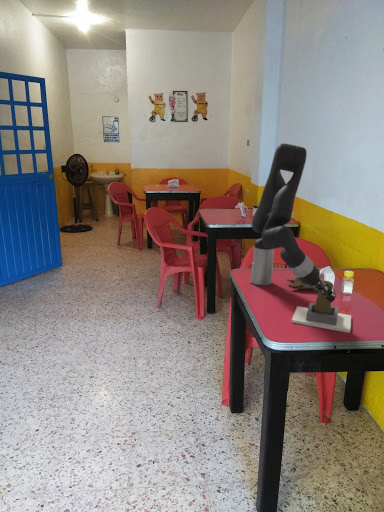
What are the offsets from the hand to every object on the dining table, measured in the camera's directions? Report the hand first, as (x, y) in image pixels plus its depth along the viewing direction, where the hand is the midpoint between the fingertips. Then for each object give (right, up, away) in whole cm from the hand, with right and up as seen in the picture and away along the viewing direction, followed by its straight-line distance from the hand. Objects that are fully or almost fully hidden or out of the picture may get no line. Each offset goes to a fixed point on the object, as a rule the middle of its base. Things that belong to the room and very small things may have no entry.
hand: (328, 297), depth 145 cm
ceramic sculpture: (+1, 0, +35) cm, 35 cm away
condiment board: (-2, -8, +2) cm, 9 cm away
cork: (-2, -5, +1) cm, 5 cm away
